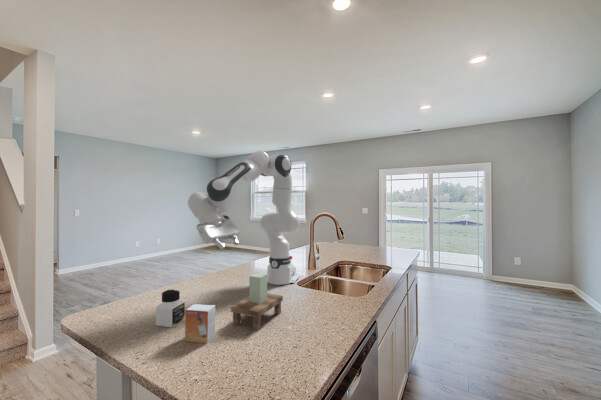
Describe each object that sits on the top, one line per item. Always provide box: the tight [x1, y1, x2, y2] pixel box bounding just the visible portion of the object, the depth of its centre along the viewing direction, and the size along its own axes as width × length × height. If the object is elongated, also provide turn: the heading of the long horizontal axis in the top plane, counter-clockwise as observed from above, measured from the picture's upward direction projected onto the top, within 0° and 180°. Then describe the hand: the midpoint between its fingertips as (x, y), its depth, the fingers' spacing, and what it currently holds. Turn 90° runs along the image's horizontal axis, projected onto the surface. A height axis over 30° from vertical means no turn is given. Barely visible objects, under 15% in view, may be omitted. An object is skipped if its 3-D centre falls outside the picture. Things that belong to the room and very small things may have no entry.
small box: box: [184, 303, 216, 345], centre depth 89 cm, size 8×6×10 cm
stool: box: [230, 292, 284, 332], centre depth 105 cm, size 18×12×7 cm, turn 155°
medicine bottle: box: [155, 288, 186, 328], centre depth 101 cm, size 7×7×12 cm
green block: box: [248, 272, 268, 304], centre depth 105 cm, size 5×5×10 cm
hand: (230, 246), depth 114 cm, fingers open, 8 cm apart
